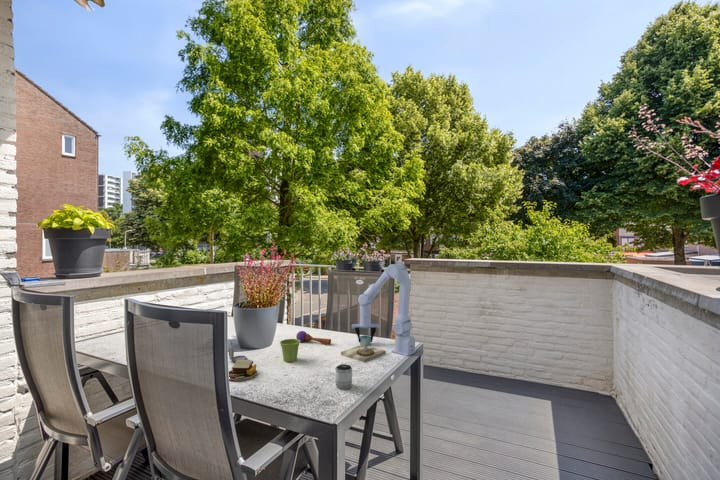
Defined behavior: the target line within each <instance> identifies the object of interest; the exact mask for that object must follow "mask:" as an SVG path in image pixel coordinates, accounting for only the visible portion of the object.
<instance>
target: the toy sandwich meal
mask: <svg viewBox="0 0 720 480" xmlns="http://www.w3.org/2000/svg"><path fill="white" fill-rule="evenodd" d="M228 372H229V377H230V380H229V381H231V380H234V381H233V382H243V381H247V379H248V380H250V379H252V378H254V377H256V375H257V373H258V370H257V364H255V363H254V360H251V359H246V360H236V362H234V364H233V365H232V366H231V370H229V371H228ZM242 380H243V381H242Z"/></svg>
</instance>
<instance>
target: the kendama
mask: <svg viewBox="0 0 720 480" xmlns="http://www.w3.org/2000/svg"><path fill="white" fill-rule="evenodd" d="M295 339H298V340H300V343H304V342H310V341H315V342H318V343H321V344H324V345H327V346H330V345H331V344H332V340H331V338H321V337H320V338H319V337H313V336H311V334H310V333H308V332H306V331H304V330H301V331H298V332H297V333H296V338H295Z"/></svg>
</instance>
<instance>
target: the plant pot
mask: <svg viewBox="0 0 720 480" xmlns="http://www.w3.org/2000/svg"><path fill="white" fill-rule="evenodd" d="M300 343H301V342H300V340H298V339H297V338H287V339H283V340H280V341H279V344H280V347H281V352H282V358H283V362H286V363H287V362H290V363H293V362H295V361H297V359H298V352H299V346H300Z"/></svg>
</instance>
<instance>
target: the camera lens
mask: <svg viewBox="0 0 720 480" xmlns="http://www.w3.org/2000/svg"><path fill="white" fill-rule="evenodd" d="M352 385H353V367H352V366H351V365H350V364H341V363H340V364H339V365H337V366H336V368H335V386H336V389H339V390H341V391H342V390H344V391H345V390H350V389H351V388H352Z"/></svg>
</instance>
